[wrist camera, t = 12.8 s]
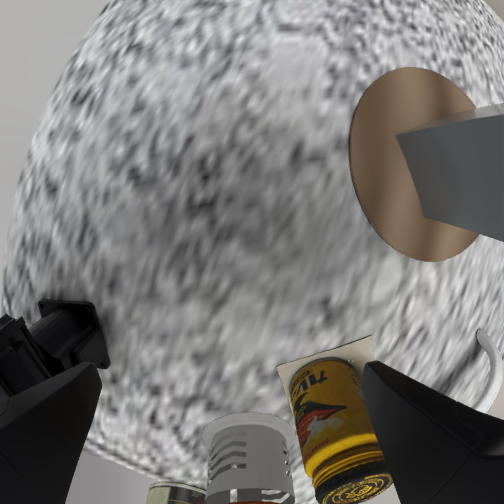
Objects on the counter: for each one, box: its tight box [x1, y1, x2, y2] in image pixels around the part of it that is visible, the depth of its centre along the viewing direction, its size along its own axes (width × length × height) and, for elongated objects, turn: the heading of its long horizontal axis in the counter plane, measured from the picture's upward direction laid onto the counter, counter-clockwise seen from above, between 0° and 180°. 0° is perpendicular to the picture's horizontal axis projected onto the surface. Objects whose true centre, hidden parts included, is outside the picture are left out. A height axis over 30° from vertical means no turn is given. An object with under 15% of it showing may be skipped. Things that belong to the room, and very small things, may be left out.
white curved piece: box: [471, 329, 503, 413], centre depth 21 cm, size 24×12×7 cm, turn 145°
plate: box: [349, 67, 479, 262], centre depth 18 cm, size 16×16×1 cm
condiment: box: [276, 335, 393, 504], centre depth 17 cm, size 7×8×12 cm
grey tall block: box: [395, 103, 504, 242], centre depth 11 cm, size 7×7×14 cm
